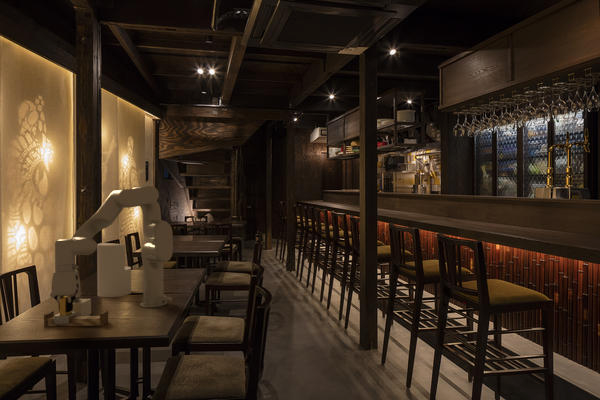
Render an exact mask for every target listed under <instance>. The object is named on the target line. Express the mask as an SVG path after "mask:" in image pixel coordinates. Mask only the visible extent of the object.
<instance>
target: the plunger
mask: <svg viewBox="0 0 600 400" xmlns="http://www.w3.org/2000/svg"><path fill="white" fill-rule="evenodd" d="M75 295H76V293H75V294H74V296H75ZM79 299H80V296H79V297H77V298H76V299H75V300H74V301H73V303H78V302H79Z"/></svg>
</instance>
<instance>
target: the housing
mask: <svg viewBox="0 0 600 400" xmlns="http://www.w3.org/2000/svg"><path fill="white" fill-rule="evenodd" d="M73 311H77V316H91V314H92V299H91V298H79V302H78V303H73V309H72V312H73Z"/></svg>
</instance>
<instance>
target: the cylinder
mask: <svg viewBox="0 0 600 400" xmlns="http://www.w3.org/2000/svg"><path fill="white" fill-rule="evenodd" d="M96 244H97V248H96V252H97V259H96V261H97V268H96V269H97V272H96V273H97V274H96V275H97V296H98V297H100V298H118V297H122V296H127V295H130V294H132V267H131V266H126V261H125V259H126V255H125V254H126V252H125V250H126V249H125V248H126V245H125V244H122V243H110V242H100V243H96Z"/></svg>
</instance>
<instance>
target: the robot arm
mask: <svg viewBox="0 0 600 400" xmlns="http://www.w3.org/2000/svg"><path fill="white" fill-rule="evenodd" d="M159 197H160V194H159V191H158V189H157V188H156V187H155V186H153V185H137V186H134V187H132V188H127V189H122V188H121V189H115V190H113V191H112V192H110V194H108V196H107V198H106V199H105V200H104V202H103V203H102V204H101V206H100V207H99V208H98V210H97V211H96V212H95V213H94V214H93V215H92V216H91V217H90V218H89V219H87V220H86V221H85V222H84V223H83V224H82V225H81V226H79V228H78V229H77V230H76V232H75V233H74V234H73V236H72V237H71V238H60V239H57V240H55V242H54V266H55V267H54V268H55V269H54V271H53V273H52V278H51V279H52V280H51V292H50V295H49V296H50V298H52V299H54V300H55V301H56V303H57V304H58V312H59V313H60V298H62V297H64V296H67V295H68V303H67V312H70V311H72V309H73V301H74V300H75V299H76V298H77V297H79V298H80V297H81V296H82V292H81V280H80V275H79V270H77V269H79V265H77V263H76V256H81V255H82V256H89V255H92V254H93V253H95V251H97V244H98V243H97V241H95V239H93V238H94V237H95V235H97V234H98V233H99V232H100V231H102V230H105V229H107V228H109V227H110V226H112V224H114V222H115V221H116V219H117V218H118V217H119V215H120V213H121V212H123V210H124V209H126V208H127V209H129V208H134V207H140V209H141V212H142V225H143V227H142V228H143V229H142V230H143V235H144V236H145V238H147V239H151V240H154V241H147V242H146V243H144V244H143V245H142V246H141V251H140V253H141V254H140V255H141V261H142V271H143V273H142V276H143V277H142V278H143V279H142V280H143V281H142V286H143V294H142V295H143V298H142V300H143V301H141V302H140V303H139V306H140V307H141V308H145V309H146V308H147V309H148V308H149V309H151V308H152V309H153V308H160V307H163V306H166V305H167V303H168V302H172V301H173V297H171V296H166V294H165V293H164V264H163V263H167V262H168V261H170V260H171V258H172V257H173V254H174V253H173V252H174V248H173V247H174V243H173V242H174V241H173V240H174V239H173V229H172V226H171V224H170V223H169V222H167V221H166V220H163V219H162V214H161V212H162V211H161V207H160V204H159V202H158V199H159ZM75 293H76V295H75V296H74V294H75Z"/></svg>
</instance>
